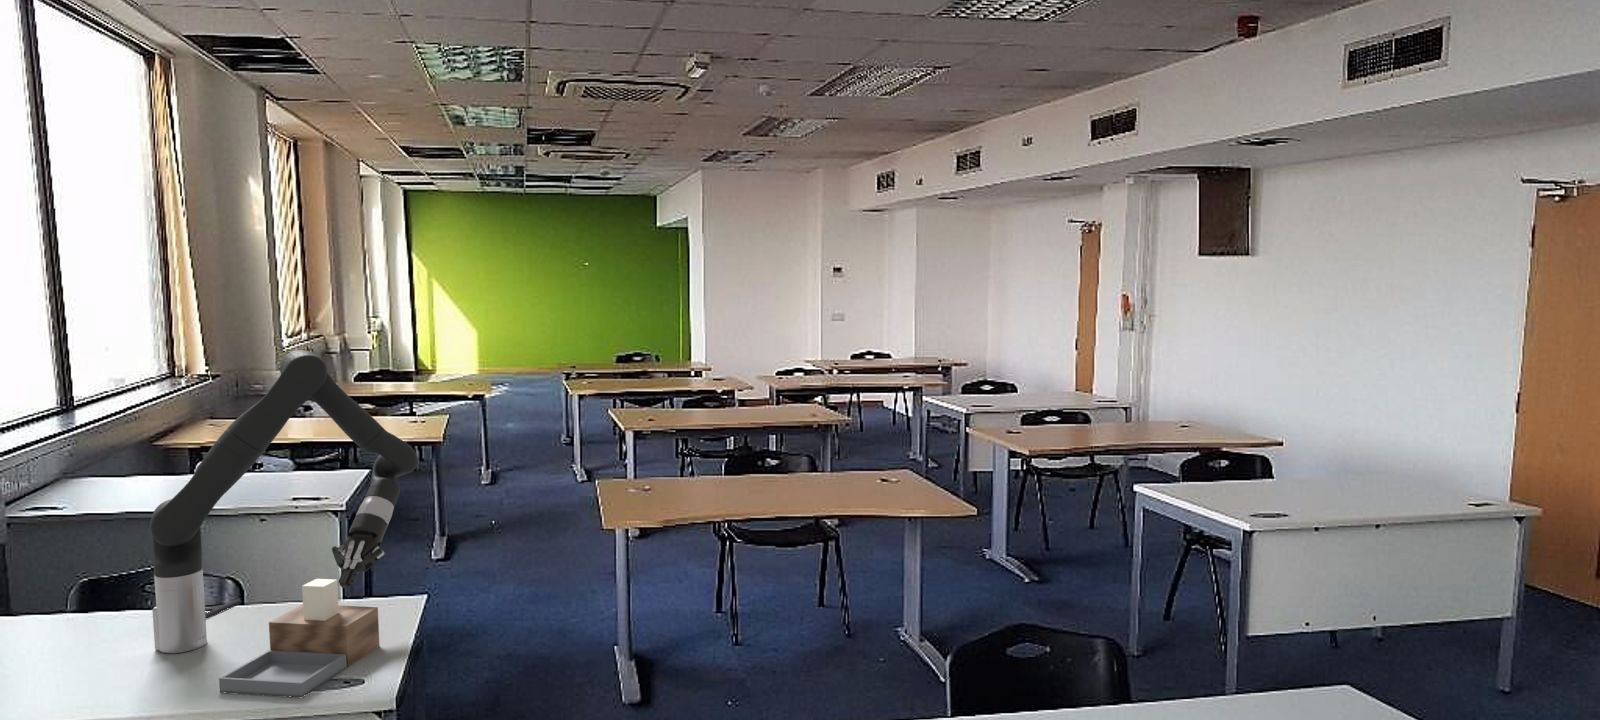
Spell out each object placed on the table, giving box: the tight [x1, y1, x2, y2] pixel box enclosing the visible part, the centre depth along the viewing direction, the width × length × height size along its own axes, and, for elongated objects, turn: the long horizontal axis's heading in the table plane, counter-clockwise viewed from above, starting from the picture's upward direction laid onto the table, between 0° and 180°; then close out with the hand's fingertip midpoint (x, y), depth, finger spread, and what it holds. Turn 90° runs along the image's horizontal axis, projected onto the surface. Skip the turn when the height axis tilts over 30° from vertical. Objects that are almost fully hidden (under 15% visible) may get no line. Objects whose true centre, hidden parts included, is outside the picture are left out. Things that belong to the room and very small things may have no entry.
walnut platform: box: [268, 604, 380, 668], centre depth 222 cm, size 18×12×9 cm, turn 82°
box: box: [218, 649, 348, 698], centre depth 209 cm, size 18×15×3 cm
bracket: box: [205, 598, 243, 619], centre depth 251 cm, size 14×15×3 cm
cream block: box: [301, 578, 339, 621], centre depth 220 cm, size 5×5×8 cm
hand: (344, 586), depth 229 cm, fingers closed
